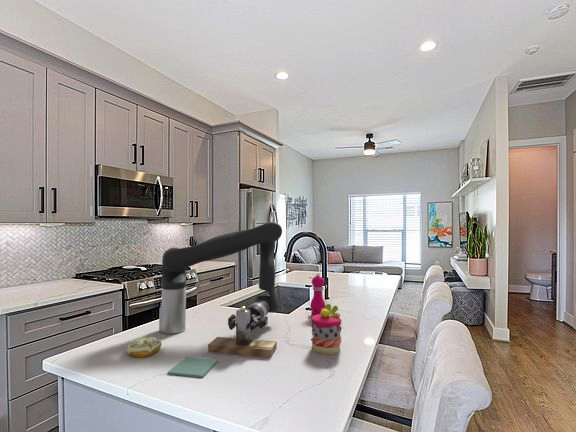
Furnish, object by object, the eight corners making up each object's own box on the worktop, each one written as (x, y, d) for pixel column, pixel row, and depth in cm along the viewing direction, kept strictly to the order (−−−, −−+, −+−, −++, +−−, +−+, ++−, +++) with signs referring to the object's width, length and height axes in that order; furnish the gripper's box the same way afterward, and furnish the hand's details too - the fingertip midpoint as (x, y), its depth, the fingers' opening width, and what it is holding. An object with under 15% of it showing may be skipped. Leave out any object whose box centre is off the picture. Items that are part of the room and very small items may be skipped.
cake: (339, 357, 108) (339, 311, 109) (307, 353, 111) (308, 308, 112) (343, 345, 118) (343, 303, 119) (314, 342, 121) (314, 301, 122)
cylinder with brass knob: (233, 344, 111) (234, 307, 112) (238, 340, 116) (238, 304, 116) (247, 346, 110) (247, 308, 111) (251, 341, 115) (252, 304, 115)
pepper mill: (324, 317, 153) (324, 274, 154) (309, 316, 155) (309, 274, 155) (326, 313, 160) (326, 272, 161) (311, 312, 162) (311, 271, 162)
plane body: (207, 352, 111) (207, 344, 111) (217, 343, 119) (217, 336, 119) (271, 357, 107) (271, 349, 107) (276, 348, 115) (276, 340, 115)
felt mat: (167, 374, 95) (167, 372, 95) (186, 358, 106) (186, 356, 106) (202, 377, 93) (203, 375, 93) (218, 361, 104) (218, 359, 104)
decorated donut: (121, 359, 106) (121, 347, 106) (134, 346, 116) (134, 335, 116) (155, 358, 106) (155, 346, 106) (165, 346, 117) (165, 335, 117)
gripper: (237, 303, 129) (220, 315, 112) (273, 305, 126) (261, 317, 110) (237, 322, 129) (220, 337, 112) (272, 325, 126) (261, 340, 110)
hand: (240, 327), depth 111 cm, fingers open, 6 cm apart
